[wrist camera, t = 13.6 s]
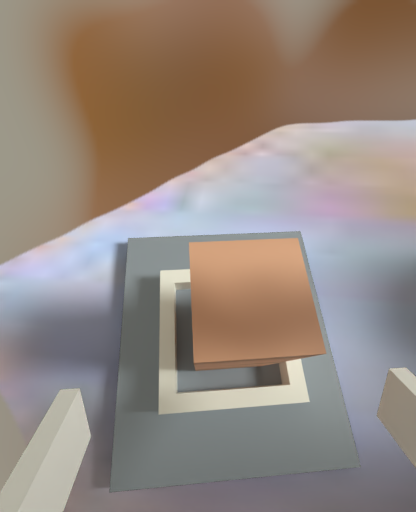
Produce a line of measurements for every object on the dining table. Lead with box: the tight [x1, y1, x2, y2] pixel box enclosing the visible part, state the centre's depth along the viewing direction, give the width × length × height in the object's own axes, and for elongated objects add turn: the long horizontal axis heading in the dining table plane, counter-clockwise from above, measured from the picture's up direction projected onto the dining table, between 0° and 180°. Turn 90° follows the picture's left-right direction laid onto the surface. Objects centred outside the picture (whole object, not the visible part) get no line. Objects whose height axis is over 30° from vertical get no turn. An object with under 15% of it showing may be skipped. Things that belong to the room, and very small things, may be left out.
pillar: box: [189, 238, 327, 371], centre depth 17 cm, size 6×6×12 cm
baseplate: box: [110, 231, 361, 492], centre depth 22 cm, size 20×18×3 cm
